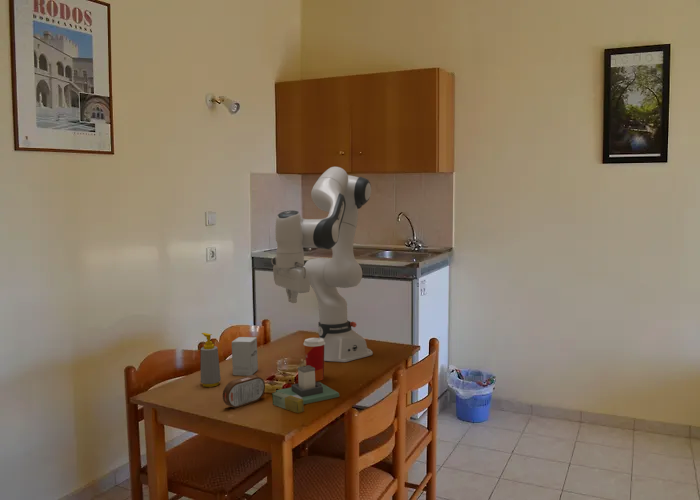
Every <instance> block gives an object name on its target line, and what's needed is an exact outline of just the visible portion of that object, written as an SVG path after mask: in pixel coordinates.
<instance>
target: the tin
mask: <svg viewBox="0 0 700 500" xmlns="http://www.w3.org/2000/svg"><path fill="white" fill-rule="evenodd" d="M265 390H266V382H265V380H264V379H263V378H262V377H260V376H259V375H257V374H253V375H250V376H242V377H239V378H236V379H233V380H230V381H229V382H228V383H226V385H225V386H224V389H223V391H222V400H223V402H224V404H225V405H226V406H228V407H231V408H239V407H242V406H245V405H246V406H247V405H249V404H252V403H255V402H258V401H259V400H261V398H262V397H263V396H264V394H265V392H266V391H265Z"/></svg>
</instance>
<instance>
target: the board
mask: <svg viewBox="0 0 700 500" xmlns="http://www.w3.org/2000/svg"><path fill="white" fill-rule="evenodd" d="M277 391H279V392H282V393H285V394H288V395H291V396H294V397H297V398H300V399H303V405H307V404H312V403H316V402H322V401H326V400H330V399H331V400H332V399H336V398H339V397H340V393H339V392H338V391H336V390H335V389H333V388H331V387H329V386H327V385H326V384H324V383H322V382H321V381H315V387H314V388H309V389H304V390H303V389H301V388H299V382H298V383H294V384H291V387H287V388H286V387H285V388H281V389H277V390H275V392H277Z"/></svg>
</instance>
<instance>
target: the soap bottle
mask: <svg viewBox="0 0 700 500" xmlns="http://www.w3.org/2000/svg"><path fill="white" fill-rule="evenodd" d="M201 335H203V336H204V337H205V338H206V340H207V341H205V344H204V345H203V346H202V347H201V348H200V383H201V384H202V386H203V387H204V388H212V387H213V388H214V387H217V386H219V384H220V382H221V381H222V380H221V379H222V377H221V370H220V360H219V359H220V358H219V349H218V346H216V345H215V344H214V343H213V341H212V340H211V337H212V336H213V334H211V333H206V332H201Z"/></svg>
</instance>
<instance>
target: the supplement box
mask: <svg viewBox="0 0 700 500" xmlns="http://www.w3.org/2000/svg"><path fill="white" fill-rule="evenodd" d="M257 339H258V337H255V336H253V337H252V336H238V337H237V338H235V339H234V340H232V341H231V359H232V360H231V361H232V375H233V376H242V377H246V376H250V375H255V373H257V372H258V370H259V364H258V340H257Z"/></svg>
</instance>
